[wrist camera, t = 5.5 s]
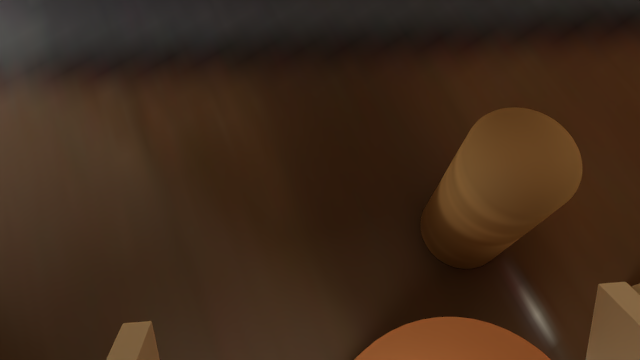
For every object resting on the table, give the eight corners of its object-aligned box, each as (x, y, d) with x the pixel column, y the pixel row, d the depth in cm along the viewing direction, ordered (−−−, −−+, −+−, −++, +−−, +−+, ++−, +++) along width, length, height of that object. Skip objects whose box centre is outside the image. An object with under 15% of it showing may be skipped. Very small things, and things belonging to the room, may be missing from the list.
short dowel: (427, 271, 21) (476, 218, 15) (414, 192, 23) (454, 110, 16) (511, 265, 21) (596, 209, 15) (494, 186, 23) (565, 103, 16)
